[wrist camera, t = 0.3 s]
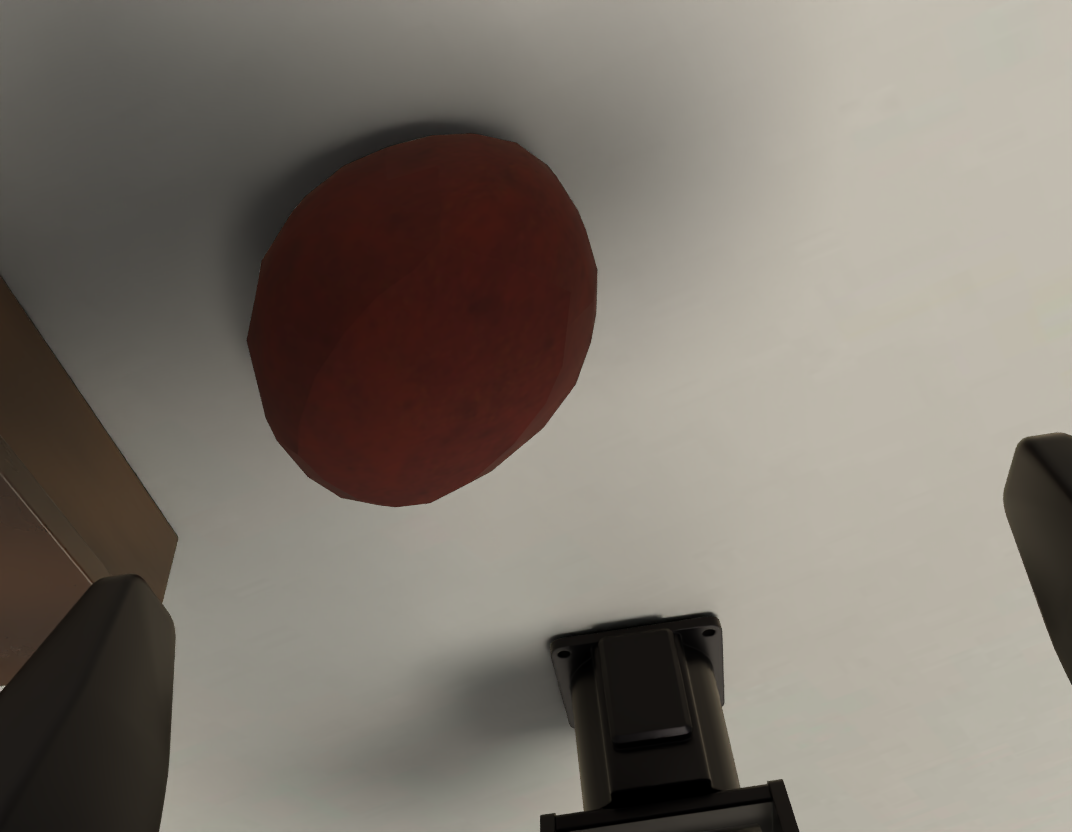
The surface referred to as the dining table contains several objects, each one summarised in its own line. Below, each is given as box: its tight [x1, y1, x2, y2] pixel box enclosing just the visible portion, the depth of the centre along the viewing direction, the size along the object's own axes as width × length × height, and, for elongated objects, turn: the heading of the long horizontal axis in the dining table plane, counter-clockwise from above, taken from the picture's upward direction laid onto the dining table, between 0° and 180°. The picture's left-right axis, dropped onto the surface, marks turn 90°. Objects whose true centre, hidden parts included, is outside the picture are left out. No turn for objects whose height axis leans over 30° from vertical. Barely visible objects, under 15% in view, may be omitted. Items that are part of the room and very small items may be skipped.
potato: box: [247, 133, 597, 507], centre depth 22 cm, size 7×10×6 cm
